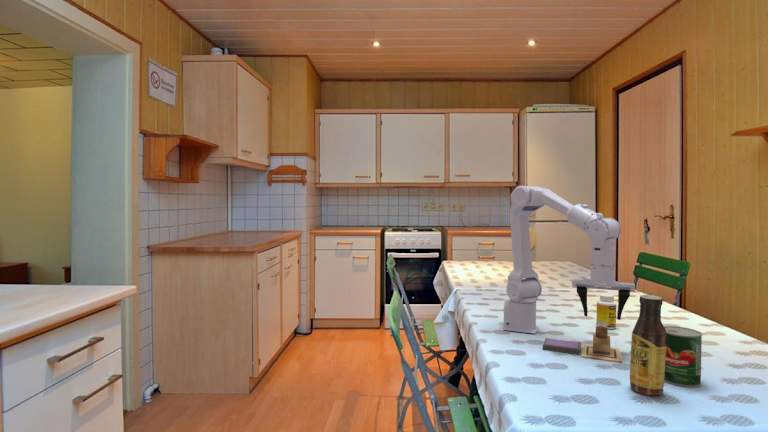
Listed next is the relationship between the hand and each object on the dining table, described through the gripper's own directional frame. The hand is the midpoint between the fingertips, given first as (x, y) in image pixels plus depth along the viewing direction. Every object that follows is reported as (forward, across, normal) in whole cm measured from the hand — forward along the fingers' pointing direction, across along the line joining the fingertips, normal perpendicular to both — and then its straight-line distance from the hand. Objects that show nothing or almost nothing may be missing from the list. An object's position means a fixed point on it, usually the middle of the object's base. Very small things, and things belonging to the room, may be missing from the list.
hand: (602, 317), depth 118 cm
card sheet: (+9, 0, 0) cm, 9 cm away
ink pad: (+9, -10, 0) cm, 13 cm away
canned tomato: (+10, +16, -12) cm, 22 cm away
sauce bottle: (+10, +8, -22) cm, 26 cm away
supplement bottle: (+10, +1, +28) cm, 29 cm away
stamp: (+9, 0, 0) cm, 9 cm away
